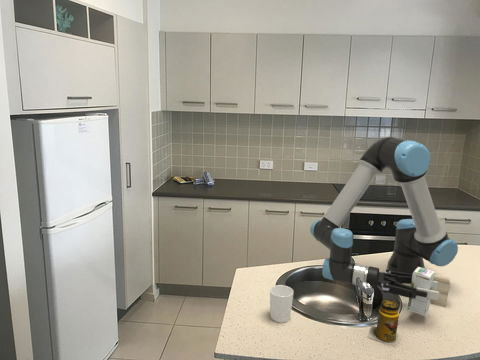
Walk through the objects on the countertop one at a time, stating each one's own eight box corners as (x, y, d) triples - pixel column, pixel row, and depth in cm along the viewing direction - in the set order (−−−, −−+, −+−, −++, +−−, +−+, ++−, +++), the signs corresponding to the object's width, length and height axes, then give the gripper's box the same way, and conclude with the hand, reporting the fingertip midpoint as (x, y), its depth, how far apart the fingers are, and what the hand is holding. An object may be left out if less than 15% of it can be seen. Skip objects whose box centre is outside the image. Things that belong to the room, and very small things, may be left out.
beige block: (430, 297, 150) (434, 273, 148) (445, 300, 148) (449, 276, 146) (430, 304, 146) (434, 279, 143) (445, 307, 144) (449, 282, 141)
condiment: (395, 346, 121) (400, 311, 118) (366, 337, 125) (371, 303, 122) (398, 334, 127) (403, 300, 124) (371, 326, 131) (375, 293, 128)
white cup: (285, 309, 139) (286, 283, 137) (295, 321, 132) (297, 294, 130) (264, 313, 137) (266, 286, 134) (274, 325, 130) (276, 298, 127)
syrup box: (411, 303, 139) (416, 265, 136) (429, 309, 136) (435, 271, 132) (406, 310, 135) (411, 271, 132) (425, 316, 131) (430, 277, 128)
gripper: (368, 274, 150) (435, 287, 141) (361, 298, 133) (437, 315, 124) (370, 256, 148) (438, 268, 139) (363, 278, 131) (440, 294, 122)
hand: (437, 290), depth 131 cm, fingers closed on syrup box, 7 cm apart
